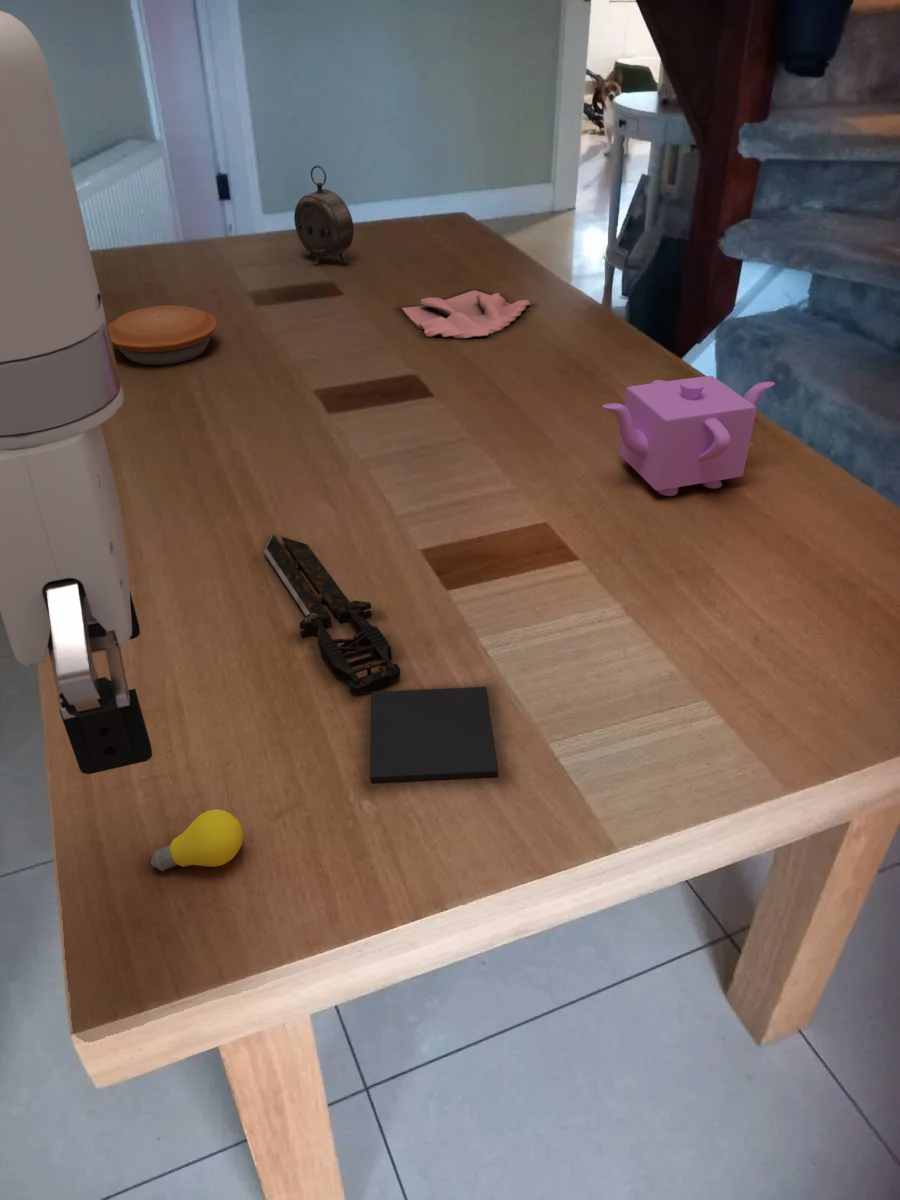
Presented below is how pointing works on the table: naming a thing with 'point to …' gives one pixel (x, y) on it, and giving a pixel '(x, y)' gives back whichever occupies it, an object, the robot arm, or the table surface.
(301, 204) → the alarm clock
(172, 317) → the pie
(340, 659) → the knife
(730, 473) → the teapot
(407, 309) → the cloth
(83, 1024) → the table surface
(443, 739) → the coaster
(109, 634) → the robot arm
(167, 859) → the light bulb
